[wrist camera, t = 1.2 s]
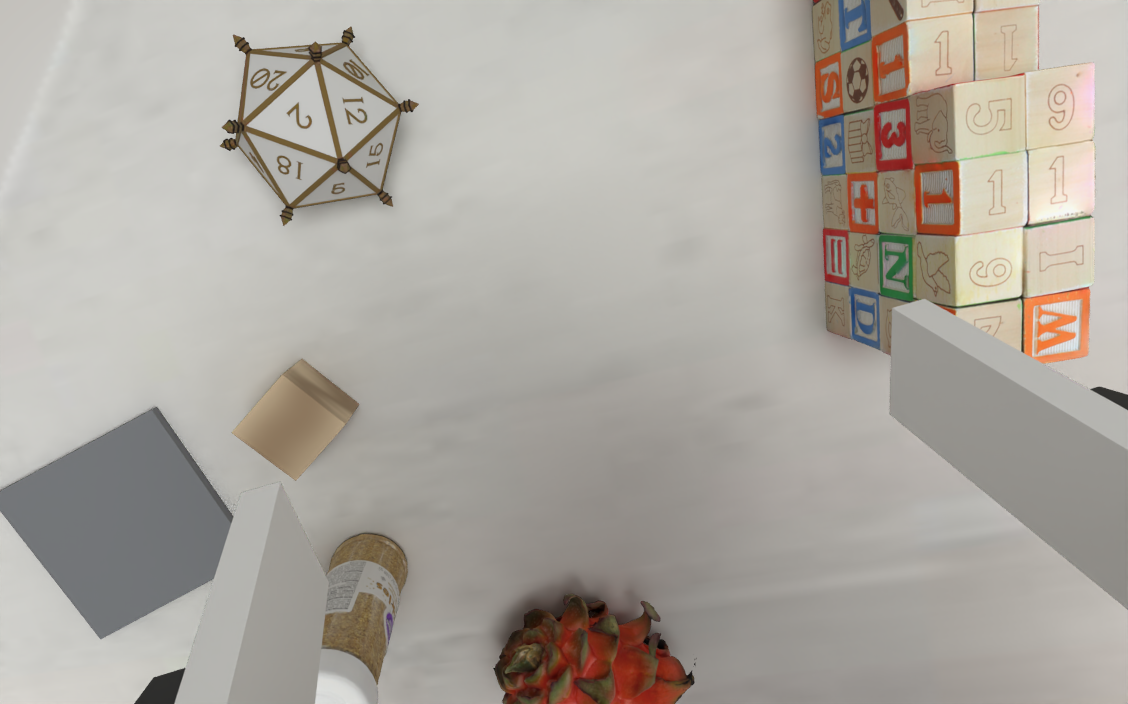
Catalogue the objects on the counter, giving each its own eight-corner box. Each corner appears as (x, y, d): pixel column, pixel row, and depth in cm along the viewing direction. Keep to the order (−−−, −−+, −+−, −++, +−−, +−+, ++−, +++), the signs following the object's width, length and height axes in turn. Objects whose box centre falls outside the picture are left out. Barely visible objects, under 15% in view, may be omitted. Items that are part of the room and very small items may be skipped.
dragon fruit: (481, 598, 45) (653, 610, 48) (469, 752, 42) (657, 753, 45) (517, 583, 38) (717, 598, 41) (506, 768, 34) (727, 768, 38)
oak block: (359, 403, 40) (345, 424, 37) (314, 455, 41) (295, 481, 37) (302, 358, 40) (282, 374, 36) (256, 411, 40) (231, 432, 36)
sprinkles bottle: (417, 588, 43) (385, 755, 30) (343, 610, 43) (278, 787, 29) (395, 520, 42) (351, 662, 29) (319, 542, 42) (240, 694, 29)
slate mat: (257, 552, 41) (254, 557, 41) (106, 633, 41) (100, 639, 41) (156, 406, 39) (151, 409, 39) (-4, 492, 39) (-11, 496, 39)
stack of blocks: (804, -57, 38) (949, -181, 26) (915, -69, 39) (1108, -196, 27) (825, 333, 42) (958, 381, 30) (925, 318, 43) (1094, 360, 31)
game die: (320, 161, 41) (149, 173, 33) (350, 8, 37) (163, -21, 29) (433, 235, 38) (277, 269, 30) (479, 79, 34) (312, 68, 26)
